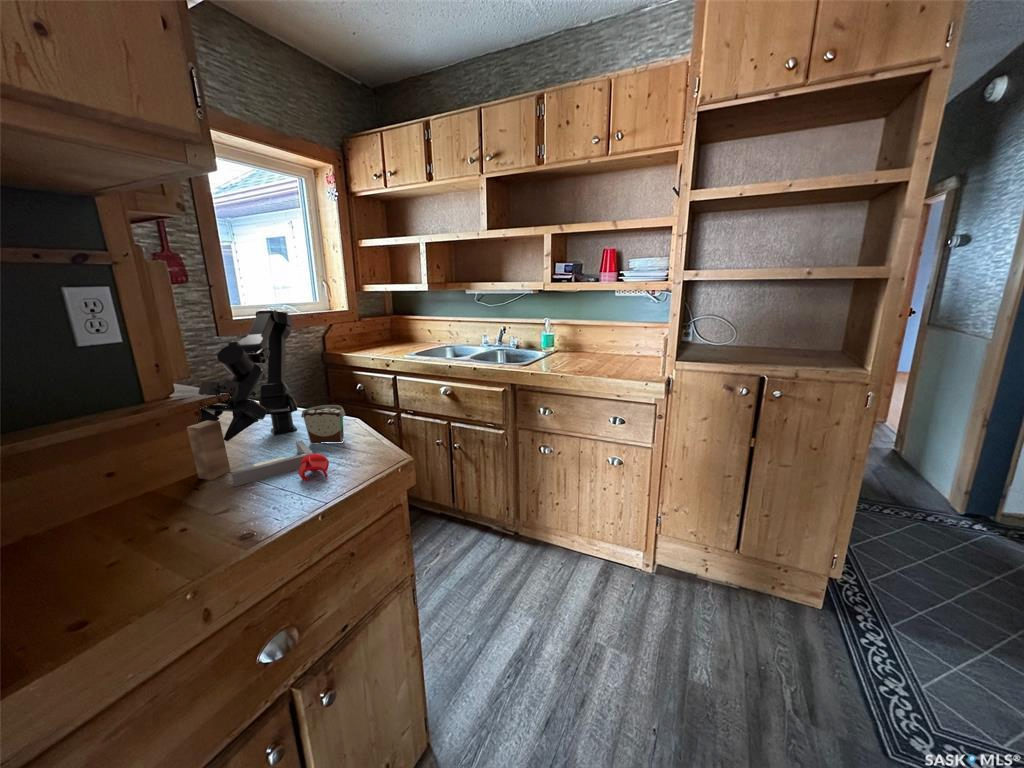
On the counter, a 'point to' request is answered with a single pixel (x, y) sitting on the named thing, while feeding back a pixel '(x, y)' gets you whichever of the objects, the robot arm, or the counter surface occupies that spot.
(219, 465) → the walnut block
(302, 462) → the cap
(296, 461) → the grey long angled bar
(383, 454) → the counter surface
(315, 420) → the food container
